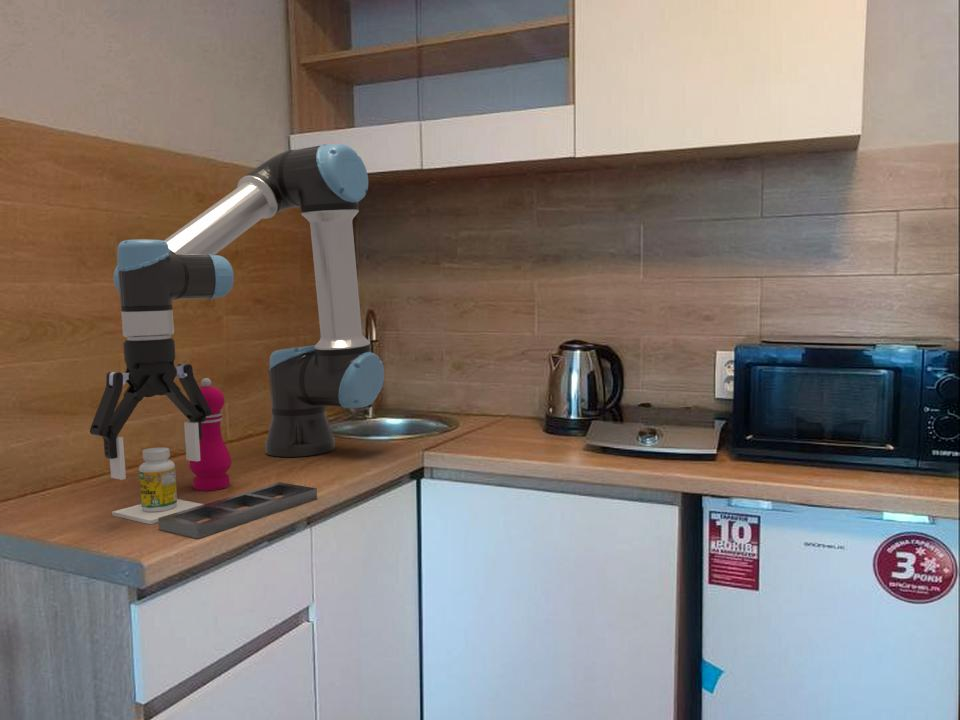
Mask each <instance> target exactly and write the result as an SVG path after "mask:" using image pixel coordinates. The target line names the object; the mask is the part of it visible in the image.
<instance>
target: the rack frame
mask: <svg viewBox="0 0 960 720" xmlns="http://www.w3.org/2000/svg"><path fill="white" fill-rule="evenodd" d="M277 496H280V497H278V498H276V497H277ZM314 500H318V488H315V487H310V486H305V485H297V484H294V483H293V484H291V483H285V482H279V481H278V482H276V483H275V482H274V483H273V484H269V485H265V486H262V487H259V488H256V489H252V490H249V491H245V492H242V493H238V494H235V495H231V496H229V497H225V498H222V499H219V500H213V501H212V502H208V503H205V504H204V503H203V504H204V505H200V506H197V507H194V508H190V509H187V510H183V511H180V512H177V513H173V514H170V515H166V516H163V517H159V518H158V522H157V523H158V530H159V531H163V532H167V533H172V534H176V535H181V536H184V537H189V538H193V539H197V540H198V539H202V538H204V537H208V536H210V535H213V534H216V533H220V532H222V531H225V530H228V529H231V528H234V527H237V526H241V525H243V524H246V523H249V522H252V521H255V520H258V519H261V518H263V517H268V516H270V515H273V514H276V513H279V512H283V511H285V510H288V509H291V508H294V507H297V506H300V505H303V504H306V503H309V502H311V501H314ZM245 506H246V508H242V507H245ZM238 508H242V509H238ZM206 518H209V519H207V520H204V519H206ZM199 520H204V521H202V522H201V521H200V522H197V521H199Z"/></svg>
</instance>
